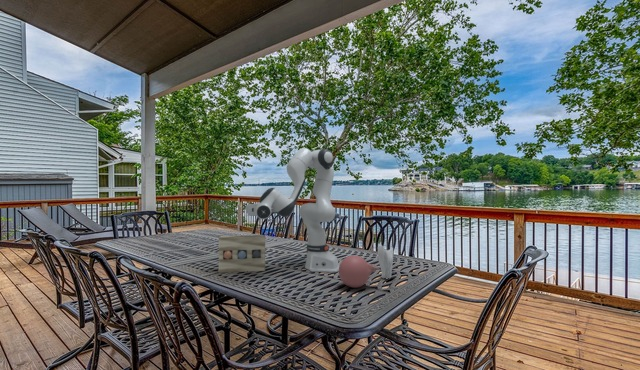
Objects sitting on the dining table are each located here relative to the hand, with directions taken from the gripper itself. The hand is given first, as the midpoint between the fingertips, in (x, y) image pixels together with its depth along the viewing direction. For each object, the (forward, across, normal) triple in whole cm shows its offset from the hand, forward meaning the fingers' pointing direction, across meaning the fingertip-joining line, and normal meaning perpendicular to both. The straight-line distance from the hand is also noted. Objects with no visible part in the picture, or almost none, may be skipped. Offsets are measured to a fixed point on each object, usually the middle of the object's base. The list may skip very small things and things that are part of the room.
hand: (263, 207), depth 187 cm
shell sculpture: (-35, -66, +36) cm, 83 cm away
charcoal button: (-9, +4, +28) cm, 30 cm away
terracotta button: (-9, +20, +28) cm, 36 cm away
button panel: (-3, +12, +36) cm, 38 cm away
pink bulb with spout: (-47, -46, +36) cm, 75 cm away
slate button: (-10, +12, +28) cm, 32 cm away
